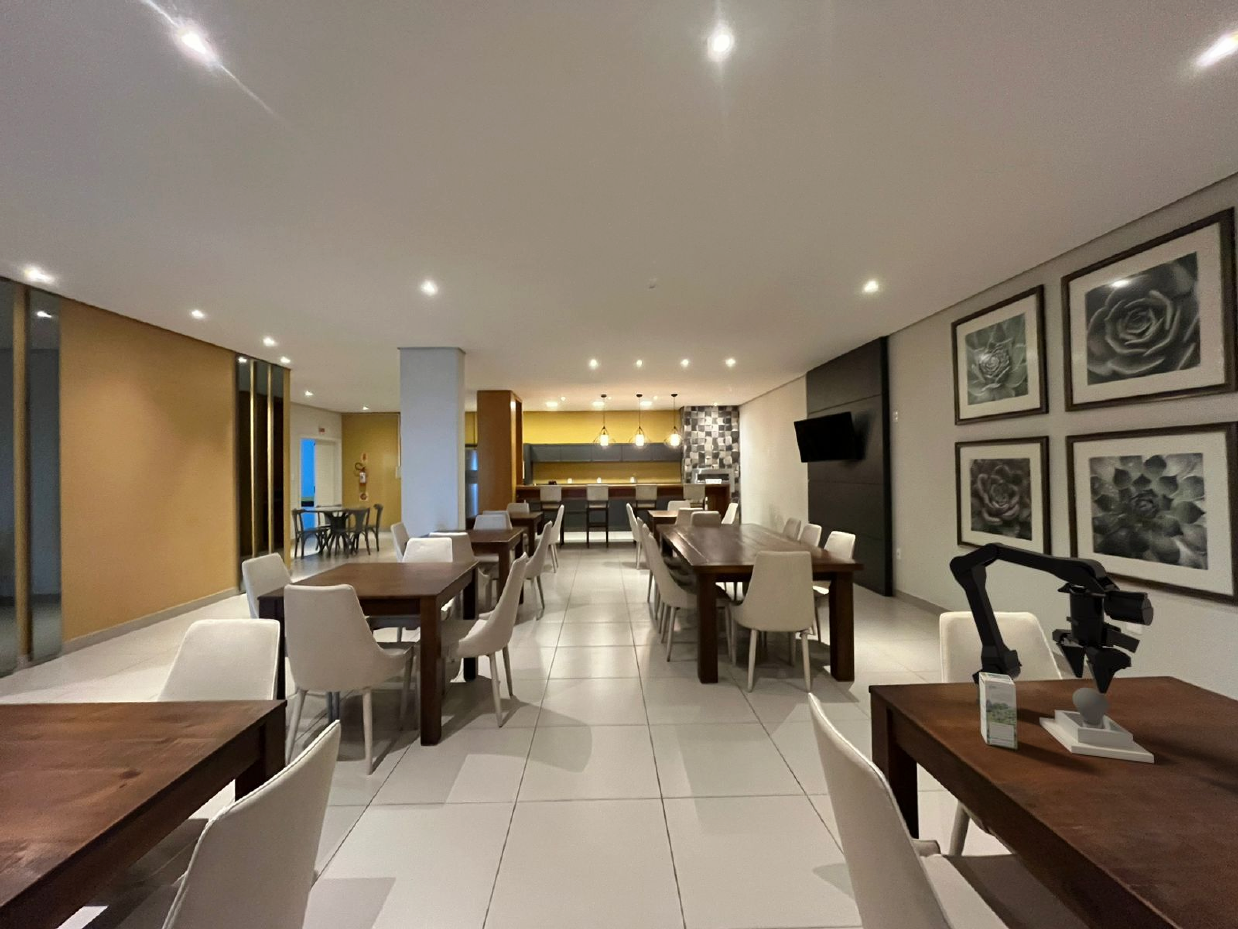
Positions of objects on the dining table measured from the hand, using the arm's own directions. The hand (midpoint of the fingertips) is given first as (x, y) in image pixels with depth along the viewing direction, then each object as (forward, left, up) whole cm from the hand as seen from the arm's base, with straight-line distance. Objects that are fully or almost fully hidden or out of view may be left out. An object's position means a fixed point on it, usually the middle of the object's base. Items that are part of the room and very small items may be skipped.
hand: (1090, 685), depth 115 cm
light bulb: (0, 0, -11) cm, 11 cm away
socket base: (0, 0, -13) cm, 13 cm away
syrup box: (-20, -6, -13) cm, 24 cm away
